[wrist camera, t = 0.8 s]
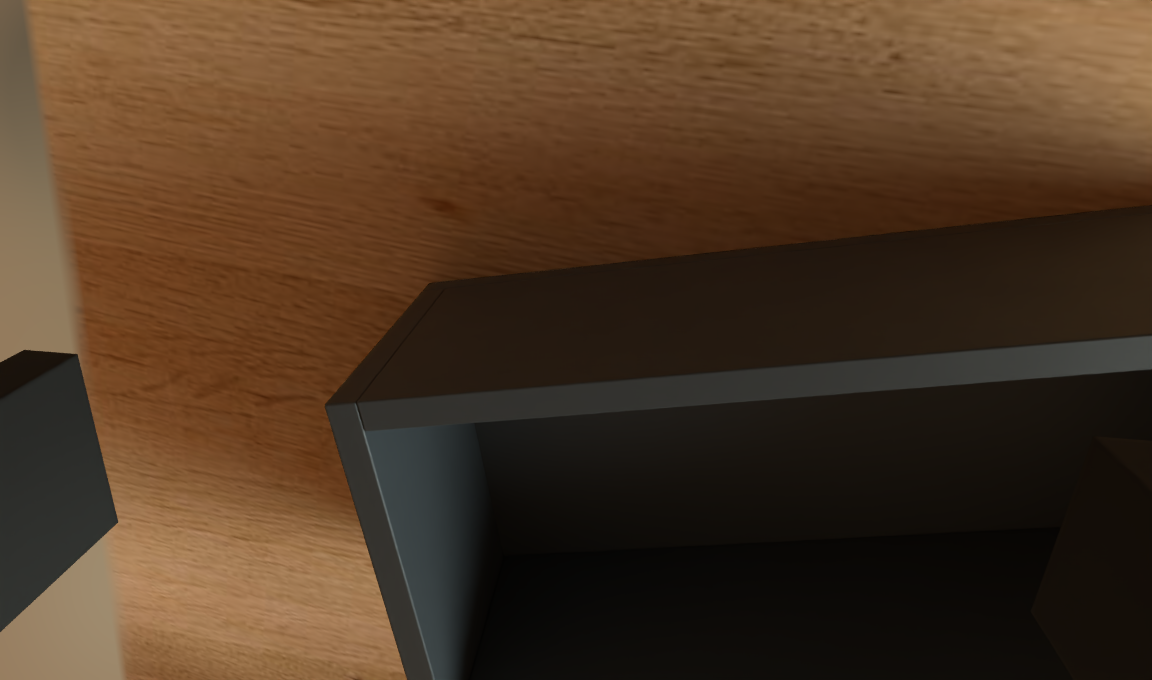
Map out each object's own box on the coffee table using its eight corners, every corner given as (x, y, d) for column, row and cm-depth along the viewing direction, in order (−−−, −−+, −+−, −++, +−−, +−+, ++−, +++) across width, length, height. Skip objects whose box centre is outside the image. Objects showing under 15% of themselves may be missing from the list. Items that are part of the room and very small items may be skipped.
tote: (491, 559, 30) (430, 759, 22) (428, 282, 26) (323, 404, 17) (1207, 522, 26) (1453, 747, 18) (1277, 191, 22) (1640, 292, 14)
